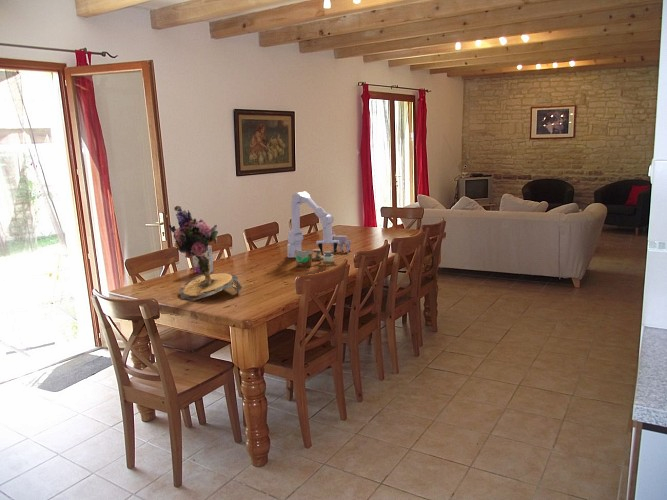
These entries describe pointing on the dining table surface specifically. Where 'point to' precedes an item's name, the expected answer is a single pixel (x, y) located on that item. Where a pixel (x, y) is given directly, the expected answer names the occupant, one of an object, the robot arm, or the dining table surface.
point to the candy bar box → (207, 255)
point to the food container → (303, 258)
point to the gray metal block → (328, 253)
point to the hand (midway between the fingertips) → (328, 255)
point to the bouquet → (199, 257)
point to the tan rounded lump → (317, 254)
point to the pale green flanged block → (328, 259)
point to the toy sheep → (341, 242)
